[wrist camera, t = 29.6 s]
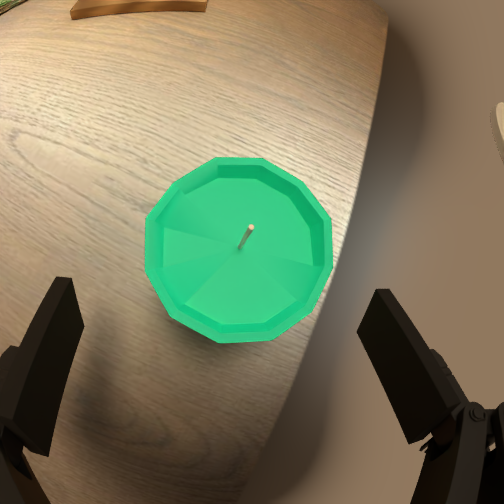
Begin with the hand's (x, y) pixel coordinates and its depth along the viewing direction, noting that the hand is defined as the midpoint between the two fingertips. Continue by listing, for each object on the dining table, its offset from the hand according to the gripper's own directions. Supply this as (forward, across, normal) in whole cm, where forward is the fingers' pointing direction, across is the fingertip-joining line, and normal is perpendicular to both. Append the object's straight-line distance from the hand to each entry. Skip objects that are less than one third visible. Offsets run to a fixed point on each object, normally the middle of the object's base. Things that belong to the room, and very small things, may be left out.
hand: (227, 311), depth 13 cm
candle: (+6, 0, -3) cm, 7 cm away
